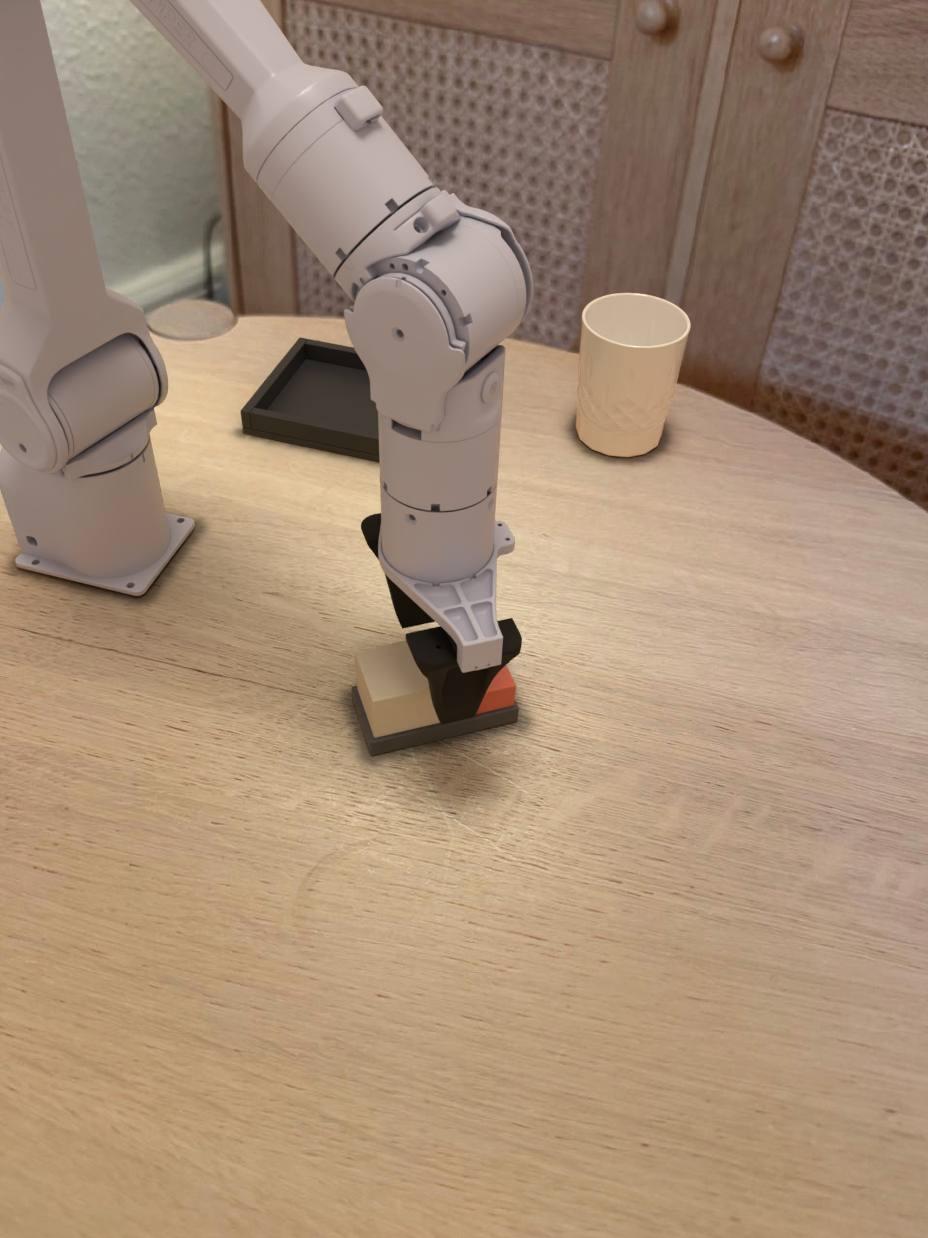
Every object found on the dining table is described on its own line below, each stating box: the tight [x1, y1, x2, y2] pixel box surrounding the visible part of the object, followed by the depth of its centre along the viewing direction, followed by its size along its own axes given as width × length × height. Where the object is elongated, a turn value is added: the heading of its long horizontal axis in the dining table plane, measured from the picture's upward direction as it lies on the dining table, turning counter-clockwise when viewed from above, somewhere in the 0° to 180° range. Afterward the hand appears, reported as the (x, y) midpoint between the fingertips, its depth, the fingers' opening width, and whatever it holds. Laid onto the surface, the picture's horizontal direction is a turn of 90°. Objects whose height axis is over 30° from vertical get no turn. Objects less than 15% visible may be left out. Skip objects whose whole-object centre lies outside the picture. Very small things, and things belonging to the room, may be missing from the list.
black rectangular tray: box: [240, 337, 380, 463], centre depth 86 cm, size 16×12×2 cm
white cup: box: [575, 292, 692, 458], centre depth 82 cm, size 8×8×10 cm
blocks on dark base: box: [350, 640, 520, 757], centre depth 63 cm, size 9×4×4 cm, turn 108°
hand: (435, 666), depth 62 cm, fingers open, 7 cm apart
